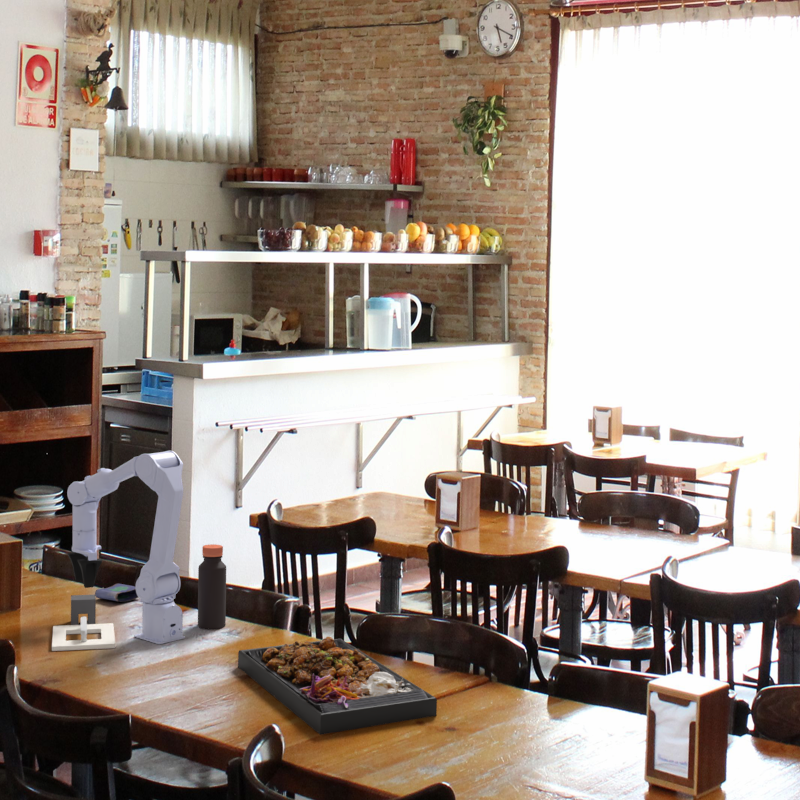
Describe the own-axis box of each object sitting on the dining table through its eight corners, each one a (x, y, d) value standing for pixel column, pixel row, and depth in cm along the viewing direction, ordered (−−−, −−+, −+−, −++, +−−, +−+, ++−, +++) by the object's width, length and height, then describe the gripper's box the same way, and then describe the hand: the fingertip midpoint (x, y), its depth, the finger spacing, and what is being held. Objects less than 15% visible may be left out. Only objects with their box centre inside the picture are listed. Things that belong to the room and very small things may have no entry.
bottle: (223, 630, 291) (224, 549, 290) (195, 630, 291) (196, 548, 290) (227, 623, 298) (228, 544, 297) (200, 622, 298) (201, 543, 297)
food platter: (436, 720, 234) (437, 668, 233) (320, 738, 223) (321, 683, 222) (340, 657, 274) (341, 613, 273) (238, 670, 262) (238, 624, 262)
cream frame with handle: (115, 647, 275) (115, 632, 275) (51, 651, 271) (51, 635, 271) (113, 627, 292) (113, 612, 292) (53, 629, 288) (53, 615, 288)
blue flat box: (116, 593, 312) (89, 589, 319) (117, 604, 313) (90, 600, 319) (143, 585, 320) (116, 581, 326) (144, 596, 320) (116, 592, 326)
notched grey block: (95, 620, 298) (95, 594, 298) (95, 625, 293) (95, 599, 293) (70, 621, 297) (71, 595, 296) (70, 626, 292) (70, 600, 291)
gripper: (109, 533, 291) (109, 588, 292) (92, 523, 303) (92, 576, 304) (80, 535, 287) (80, 591, 288) (64, 525, 300) (64, 579, 301)
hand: (84, 584), depth 296 cm, fingers open, 7 cm apart
